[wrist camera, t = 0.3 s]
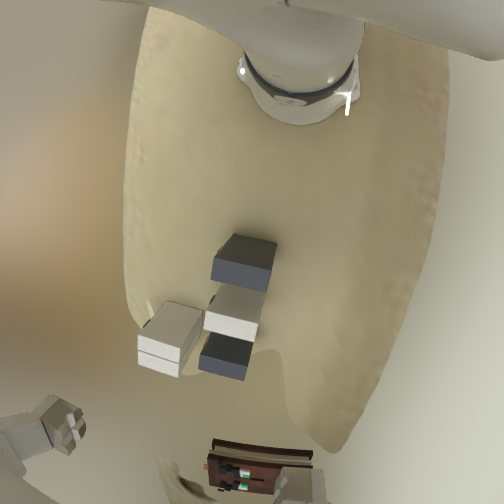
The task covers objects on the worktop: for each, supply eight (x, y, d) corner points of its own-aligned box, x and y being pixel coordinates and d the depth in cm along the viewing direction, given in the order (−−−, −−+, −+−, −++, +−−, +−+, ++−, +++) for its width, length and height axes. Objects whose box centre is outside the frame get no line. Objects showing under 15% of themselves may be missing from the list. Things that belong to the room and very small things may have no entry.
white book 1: (166, 300, 52) (136, 333, 41) (202, 310, 51) (180, 348, 40) (165, 314, 53) (136, 349, 42) (201, 324, 52) (179, 363, 41)
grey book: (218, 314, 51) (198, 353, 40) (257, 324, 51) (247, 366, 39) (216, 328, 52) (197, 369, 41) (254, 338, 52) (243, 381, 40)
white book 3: (224, 276, 49) (204, 310, 38) (267, 286, 48) (258, 323, 37) (222, 292, 50) (202, 329, 38) (263, 302, 49) (253, 342, 38)
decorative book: (306, 500, 58) (200, 487, 61) (307, 480, 65) (206, 468, 68) (323, 471, 52) (196, 456, 56) (323, 448, 59) (204, 433, 63)
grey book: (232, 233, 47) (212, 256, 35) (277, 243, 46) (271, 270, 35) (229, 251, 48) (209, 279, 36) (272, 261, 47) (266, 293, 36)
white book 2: (165, 314, 53) (136, 350, 42) (201, 325, 52) (178, 364, 41) (164, 327, 54) (137, 364, 43) (199, 338, 53) (178, 378, 42)
